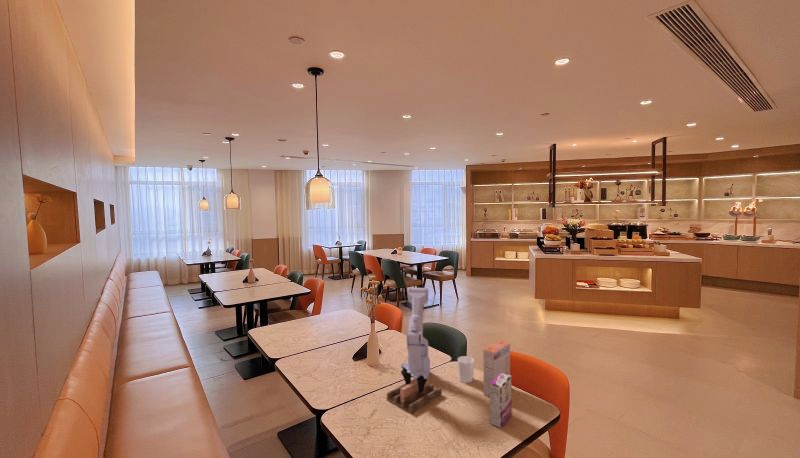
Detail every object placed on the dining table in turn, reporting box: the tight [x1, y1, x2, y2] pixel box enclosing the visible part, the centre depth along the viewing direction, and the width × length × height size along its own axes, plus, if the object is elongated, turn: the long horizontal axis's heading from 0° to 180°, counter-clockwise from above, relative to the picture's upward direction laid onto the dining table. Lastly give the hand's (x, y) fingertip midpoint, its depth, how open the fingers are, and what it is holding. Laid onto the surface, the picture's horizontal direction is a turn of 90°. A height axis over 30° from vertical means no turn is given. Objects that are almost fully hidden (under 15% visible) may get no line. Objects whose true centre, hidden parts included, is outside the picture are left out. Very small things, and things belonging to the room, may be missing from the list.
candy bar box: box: [489, 373, 512, 429], centre depth 139 cm, size 11×5×16 cm, turn 143°
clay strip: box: [400, 378, 429, 402], centre depth 155 cm, size 16×2×6 cm, turn 135°
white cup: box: [457, 355, 475, 384], centre depth 171 cm, size 8×8×10 cm
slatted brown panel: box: [386, 377, 442, 414], centre depth 155 cm, size 20×14×3 cm
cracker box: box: [482, 340, 511, 398], centre depth 160 cm, size 14×6×21 cm, turn 134°
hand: (414, 388), depth 155 cm, fingers open, 7 cm apart
